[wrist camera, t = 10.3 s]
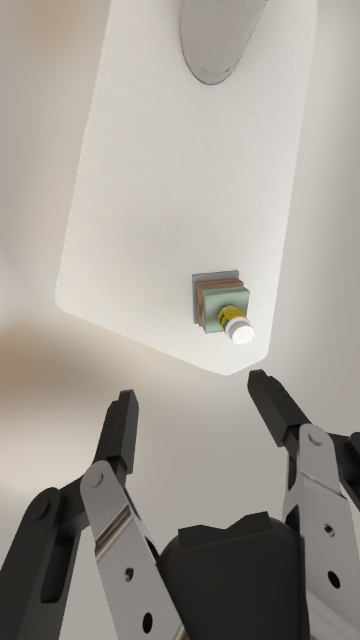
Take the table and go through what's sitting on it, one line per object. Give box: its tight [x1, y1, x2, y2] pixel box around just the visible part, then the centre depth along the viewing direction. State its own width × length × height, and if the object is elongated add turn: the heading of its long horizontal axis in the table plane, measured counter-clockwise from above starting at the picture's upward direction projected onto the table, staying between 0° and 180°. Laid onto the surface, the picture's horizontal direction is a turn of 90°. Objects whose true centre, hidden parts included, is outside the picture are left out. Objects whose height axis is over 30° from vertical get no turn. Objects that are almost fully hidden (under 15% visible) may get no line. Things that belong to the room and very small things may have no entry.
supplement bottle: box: [216, 303, 255, 345], centre depth 32 cm, size 5×5×8 cm
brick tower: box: [196, 278, 250, 334], centre depth 39 cm, size 10×10×8 cm
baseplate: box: [193, 271, 239, 324], centre depth 43 cm, size 13×11×1 cm
